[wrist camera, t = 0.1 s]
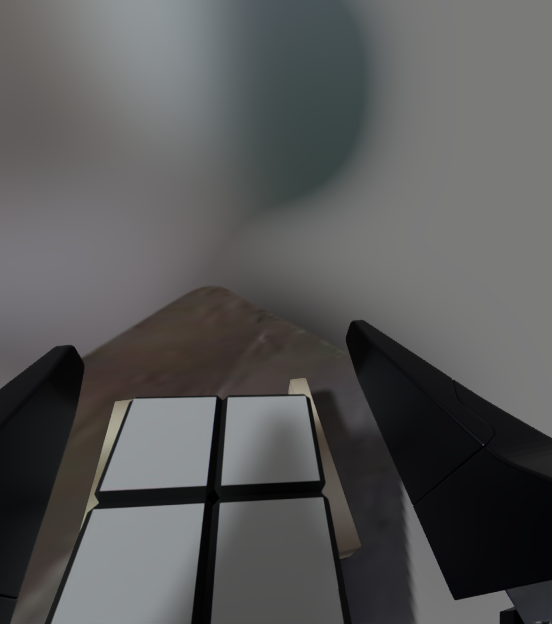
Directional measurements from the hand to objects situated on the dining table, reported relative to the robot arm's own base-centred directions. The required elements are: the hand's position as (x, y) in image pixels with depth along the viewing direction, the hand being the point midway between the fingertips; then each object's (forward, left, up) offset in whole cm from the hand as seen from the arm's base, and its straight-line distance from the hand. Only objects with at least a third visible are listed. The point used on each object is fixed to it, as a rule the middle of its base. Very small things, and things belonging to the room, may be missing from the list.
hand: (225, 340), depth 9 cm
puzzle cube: (-2, +1, -17) cm, 17 cm away
